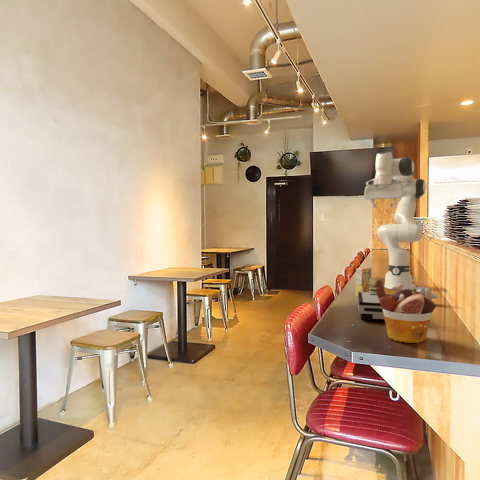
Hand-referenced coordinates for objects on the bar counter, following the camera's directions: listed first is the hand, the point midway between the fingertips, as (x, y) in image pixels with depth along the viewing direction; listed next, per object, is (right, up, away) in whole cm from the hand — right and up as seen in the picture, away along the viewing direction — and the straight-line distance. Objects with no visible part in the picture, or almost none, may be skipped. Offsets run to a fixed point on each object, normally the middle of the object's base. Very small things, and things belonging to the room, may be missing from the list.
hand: (383, 207), depth 212 cm
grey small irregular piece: (+12, -49, -21) cm, 54 cm away
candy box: (-11, -48, +1) cm, 49 cm away
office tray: (-15, -50, -42) cm, 67 cm away
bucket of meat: (-22, -51, -78) cm, 96 cm away
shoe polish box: (-9, -49, -15) cm, 52 cm away
